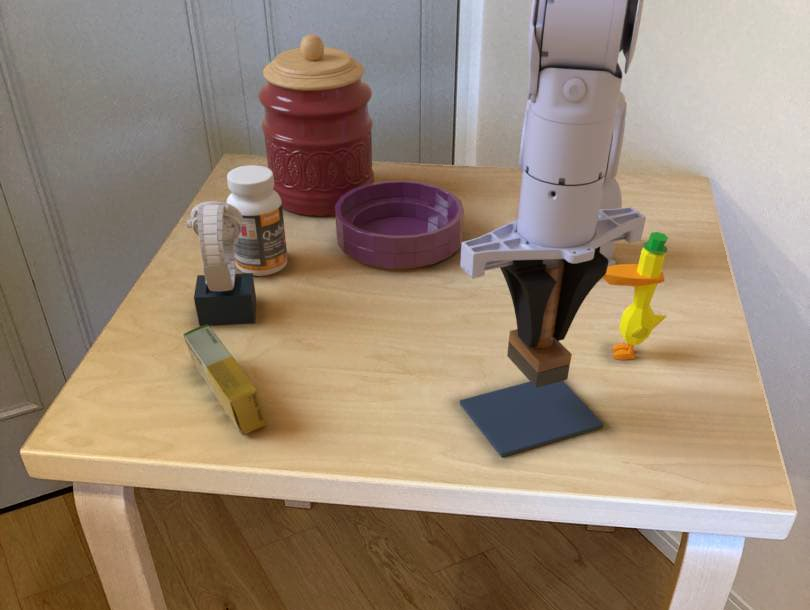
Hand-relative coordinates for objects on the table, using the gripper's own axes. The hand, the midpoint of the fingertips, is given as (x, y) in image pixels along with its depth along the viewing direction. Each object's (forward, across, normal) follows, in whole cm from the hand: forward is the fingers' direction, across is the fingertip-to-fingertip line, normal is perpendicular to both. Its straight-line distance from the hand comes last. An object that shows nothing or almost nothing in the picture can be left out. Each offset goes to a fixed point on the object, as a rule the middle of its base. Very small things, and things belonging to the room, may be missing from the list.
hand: (540, 337), depth 68 cm
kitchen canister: (+8, -2, +49) cm, 50 cm away
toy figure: (+8, +13, +5) cm, 16 cm away
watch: (+8, -20, +27) cm, 35 cm away
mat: (+8, 0, 0) cm, 8 cm away
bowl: (+8, +2, +34) cm, 35 cm away
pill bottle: (+8, -14, +35) cm, 39 cm away
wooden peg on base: (+3, 0, 0) cm, 3 cm away
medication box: (+8, -24, +13) cm, 28 cm away
